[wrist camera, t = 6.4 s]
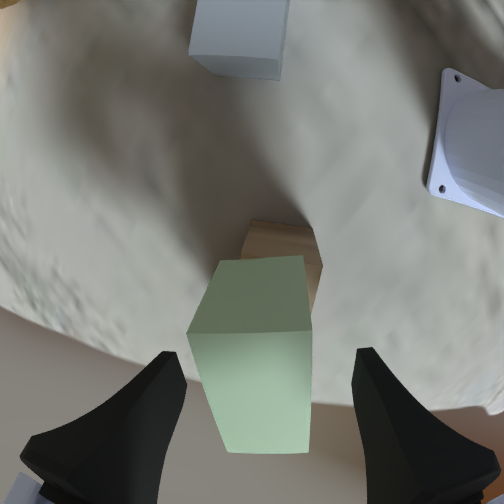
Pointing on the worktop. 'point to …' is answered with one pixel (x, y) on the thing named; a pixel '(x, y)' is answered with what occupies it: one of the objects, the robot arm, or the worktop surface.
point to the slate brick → (240, 37)
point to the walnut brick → (285, 248)
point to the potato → (7, 3)
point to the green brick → (257, 353)
